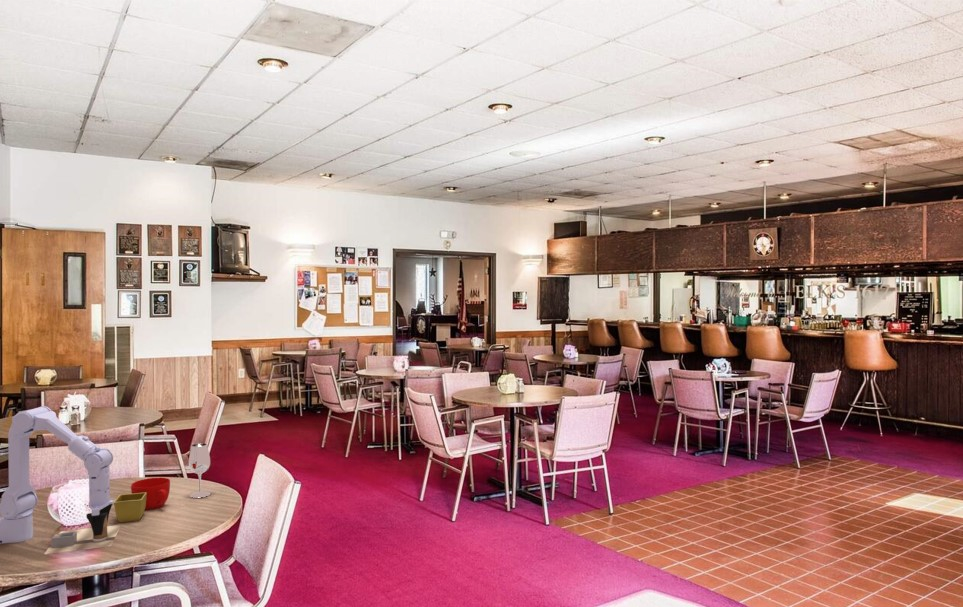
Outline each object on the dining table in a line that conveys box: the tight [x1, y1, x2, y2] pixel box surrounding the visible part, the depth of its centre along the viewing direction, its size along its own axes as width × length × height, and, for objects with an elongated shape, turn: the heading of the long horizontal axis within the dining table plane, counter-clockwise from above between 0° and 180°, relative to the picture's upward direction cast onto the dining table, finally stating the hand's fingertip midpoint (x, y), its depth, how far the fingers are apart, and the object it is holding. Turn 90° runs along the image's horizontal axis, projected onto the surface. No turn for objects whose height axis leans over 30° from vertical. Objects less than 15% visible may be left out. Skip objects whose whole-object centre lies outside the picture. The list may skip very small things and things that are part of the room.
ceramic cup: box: [130, 477, 171, 510], centre depth 246 cm, size 13×17×10 cm
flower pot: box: [113, 492, 147, 523], centre depth 234 cm, size 9×9×9 cm
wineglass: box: [188, 442, 211, 499], centre depth 263 cm, size 8×8×20 cm
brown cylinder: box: [92, 515, 108, 543], centre depth 214 cm, size 4×4×8 cm
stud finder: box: [51, 531, 77, 548], centre depth 210 cm, size 6×4×3 cm, turn 110°
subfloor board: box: [43, 524, 122, 555], centre depth 215 cm, size 18×20×2 cm
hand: (100, 530), depth 214 cm, fingers open, 7 cm apart
